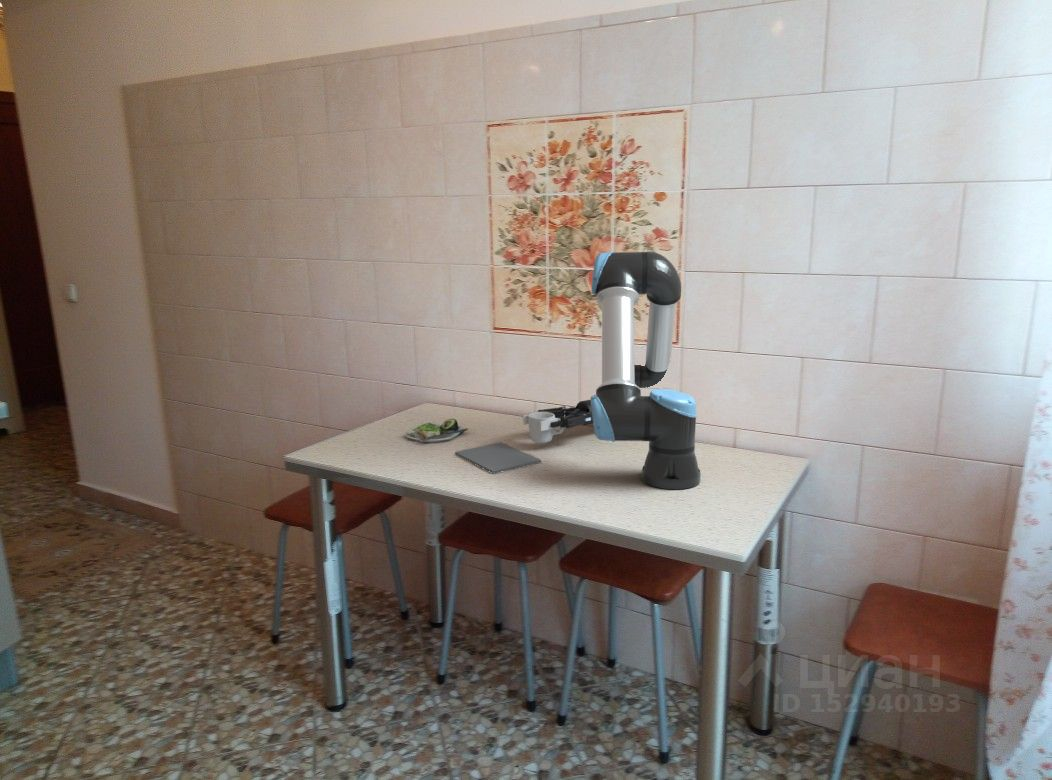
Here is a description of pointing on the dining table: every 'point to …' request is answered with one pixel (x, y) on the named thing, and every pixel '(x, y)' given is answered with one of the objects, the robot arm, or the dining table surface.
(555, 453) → the dining table surface
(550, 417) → the cup
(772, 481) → the dining table surface
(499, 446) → the mat
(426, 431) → the avocado toast plate
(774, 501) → the dining table surface
